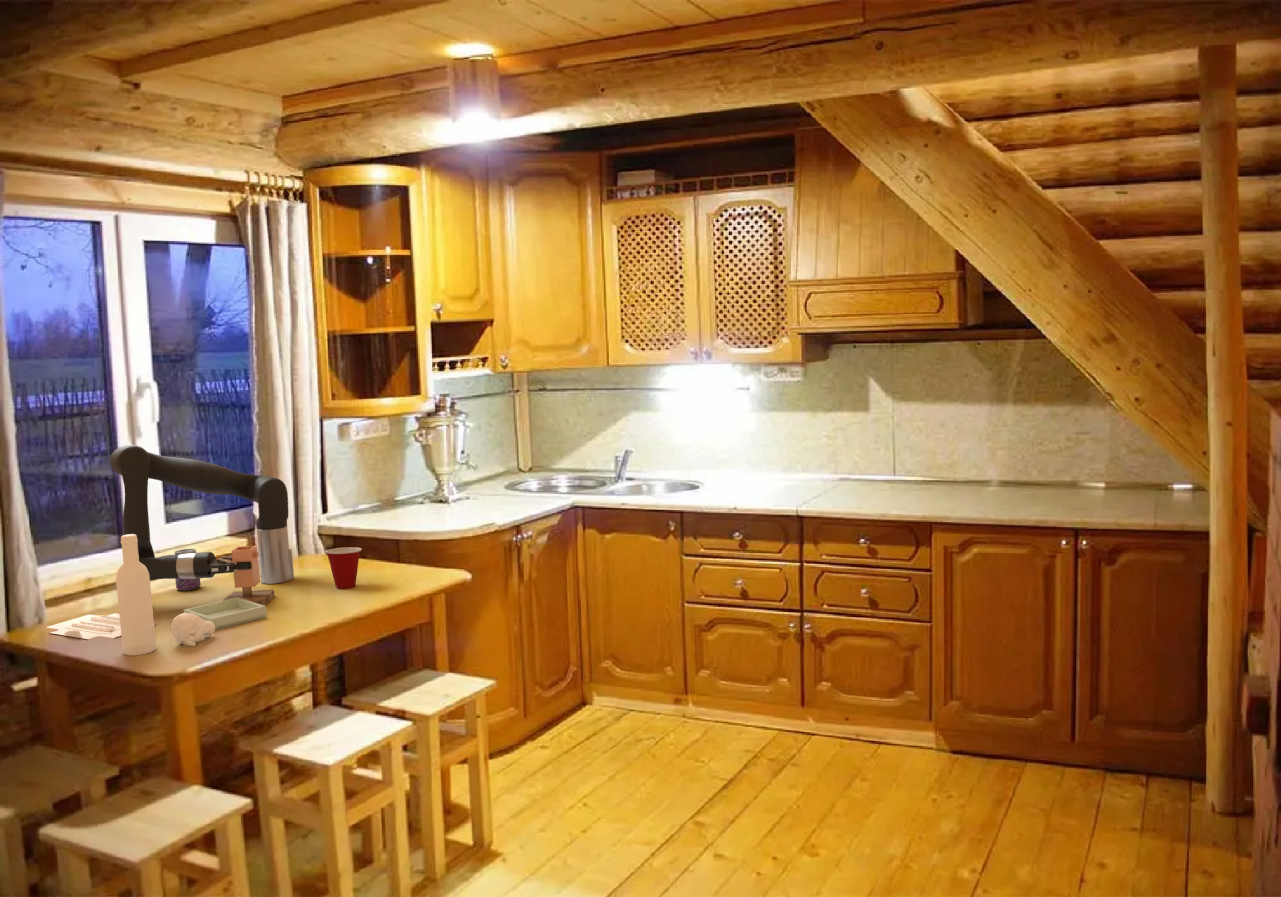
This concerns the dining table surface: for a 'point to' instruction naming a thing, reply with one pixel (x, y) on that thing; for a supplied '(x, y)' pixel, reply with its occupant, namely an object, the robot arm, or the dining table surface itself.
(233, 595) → the stand
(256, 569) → the sleeve
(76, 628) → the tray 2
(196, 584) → the beverage can
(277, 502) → the robot arm
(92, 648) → the dining table surface
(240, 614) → the tray
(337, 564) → the plastic cup
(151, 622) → the bottle
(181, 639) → the animal figurine
